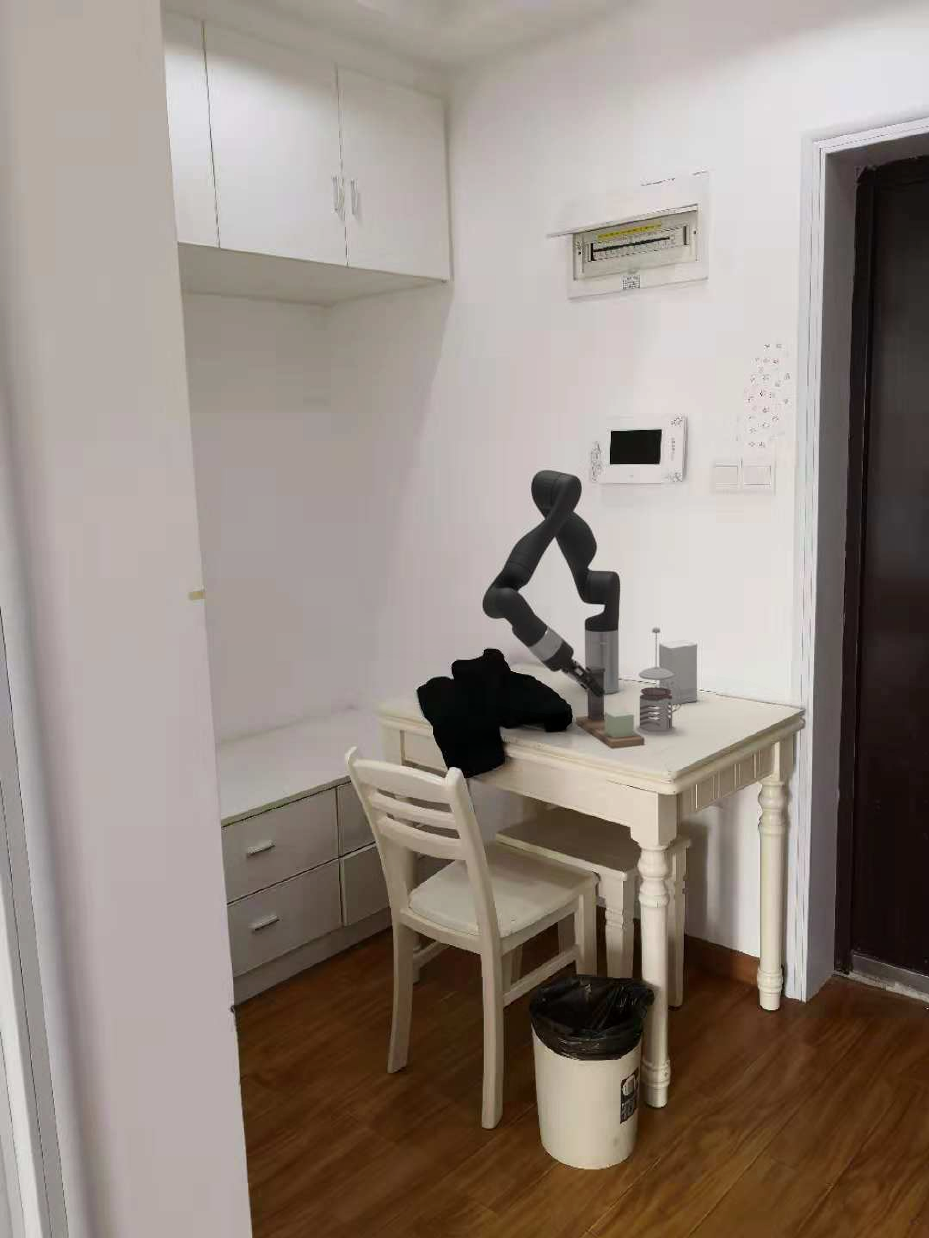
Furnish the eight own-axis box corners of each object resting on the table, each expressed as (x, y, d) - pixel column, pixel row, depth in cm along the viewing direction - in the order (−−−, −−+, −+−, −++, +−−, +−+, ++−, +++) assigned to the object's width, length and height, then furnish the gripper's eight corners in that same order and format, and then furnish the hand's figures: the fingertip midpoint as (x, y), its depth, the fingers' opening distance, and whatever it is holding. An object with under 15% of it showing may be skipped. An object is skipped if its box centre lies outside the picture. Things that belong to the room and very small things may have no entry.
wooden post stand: (576, 723, 257) (575, 666, 255) (606, 720, 259) (605, 663, 257) (611, 748, 236) (611, 686, 234) (644, 744, 238) (644, 683, 236)
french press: (650, 722, 257) (650, 622, 252) (691, 730, 249) (692, 627, 244) (626, 731, 250) (626, 628, 246) (668, 739, 242) (668, 633, 238)
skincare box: (685, 696, 280) (685, 639, 278) (698, 702, 274) (699, 643, 272) (657, 699, 278) (657, 642, 275) (670, 705, 272) (670, 646, 269)
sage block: (604, 732, 243) (604, 711, 243) (624, 730, 245) (624, 709, 244) (613, 738, 239) (613, 716, 238) (633, 735, 240) (633, 714, 239)
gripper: (570, 641, 242) (617, 685, 247) (549, 631, 256) (594, 672, 261) (549, 666, 242) (596, 709, 247) (529, 654, 255) (574, 695, 260)
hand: (595, 690), depth 254 cm, fingers open, 8 cm apart
